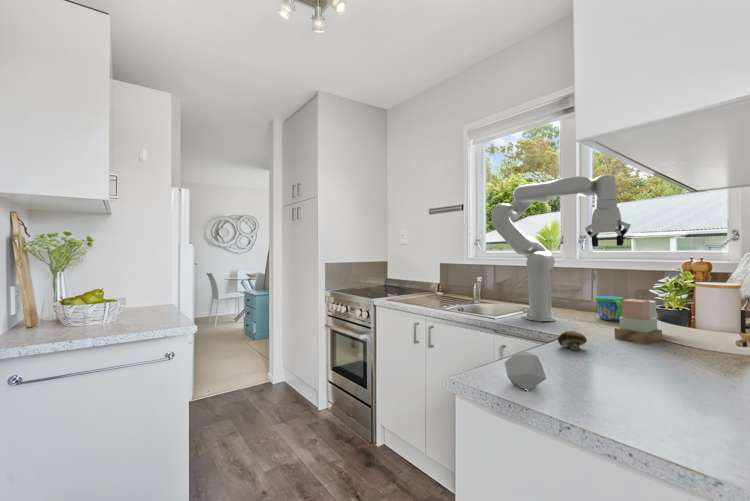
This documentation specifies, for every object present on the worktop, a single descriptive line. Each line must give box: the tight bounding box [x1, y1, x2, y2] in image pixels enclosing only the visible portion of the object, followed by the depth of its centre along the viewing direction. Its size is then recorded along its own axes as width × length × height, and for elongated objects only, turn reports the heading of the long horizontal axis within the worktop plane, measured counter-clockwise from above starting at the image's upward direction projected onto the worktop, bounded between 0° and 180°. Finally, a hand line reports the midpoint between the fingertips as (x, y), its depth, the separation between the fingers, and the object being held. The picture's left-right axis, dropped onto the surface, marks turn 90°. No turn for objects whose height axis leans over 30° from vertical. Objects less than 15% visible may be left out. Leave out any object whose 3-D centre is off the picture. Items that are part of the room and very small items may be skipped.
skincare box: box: [648, 300, 658, 319], centre depth 131 cm, size 6×4×12 cm
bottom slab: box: [614, 326, 663, 345], centre depth 122 cm, size 10×10×4 cm
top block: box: [618, 316, 658, 333], centre depth 122 cm, size 8×8×4 cm
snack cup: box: [594, 295, 625, 322], centre depth 159 cm, size 16×10×10 cm
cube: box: [621, 298, 650, 320], centre depth 123 cm, size 6×6×6 cm
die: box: [504, 350, 547, 391], centre depth 81 cm, size 8×9×10 cm
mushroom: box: [557, 330, 588, 351], centre depth 112 cm, size 8×8×6 cm
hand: (607, 246), depth 146 cm, fingers open, 9 cm apart
